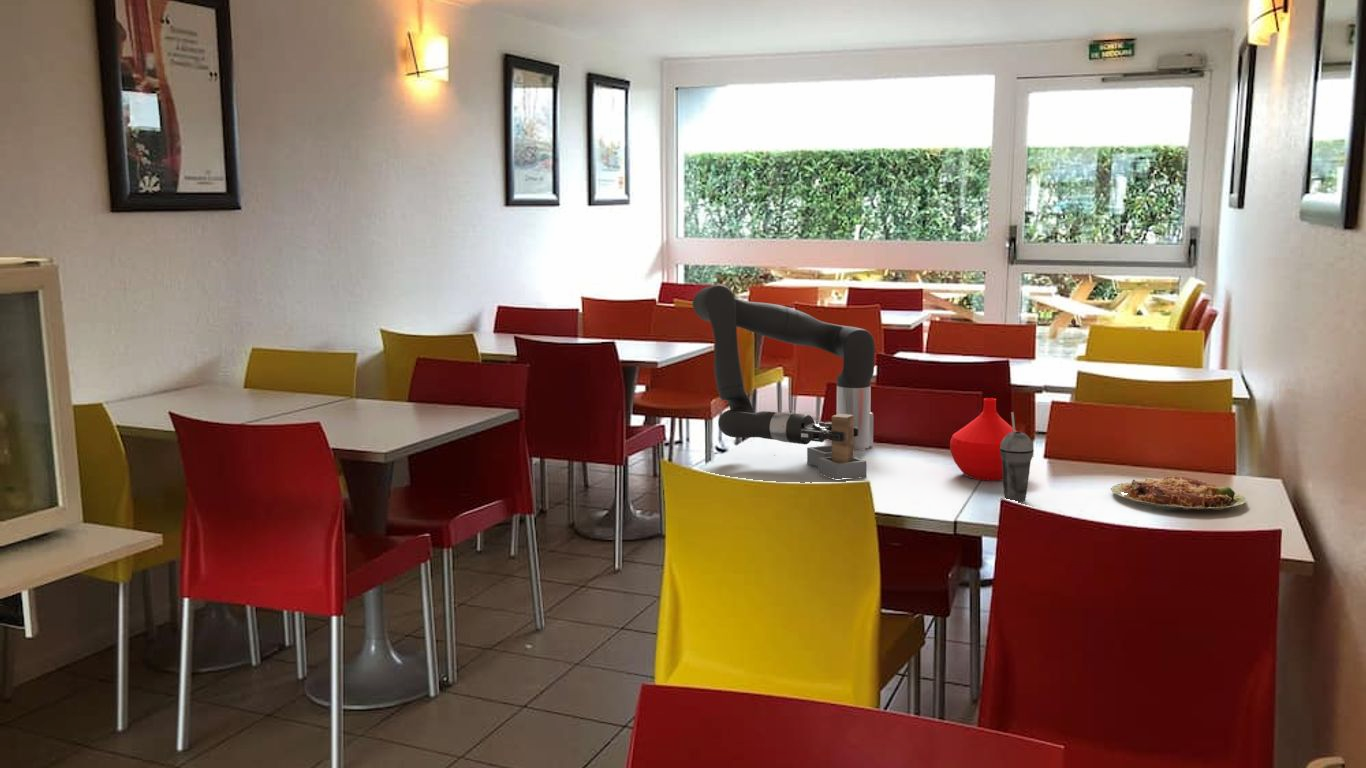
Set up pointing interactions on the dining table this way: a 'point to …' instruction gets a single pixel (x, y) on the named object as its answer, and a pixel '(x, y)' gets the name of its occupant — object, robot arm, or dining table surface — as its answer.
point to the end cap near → (842, 468)
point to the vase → (981, 444)
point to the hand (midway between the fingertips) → (851, 434)
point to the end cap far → (818, 454)
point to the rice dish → (1179, 493)
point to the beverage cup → (1016, 464)
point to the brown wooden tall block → (844, 450)
